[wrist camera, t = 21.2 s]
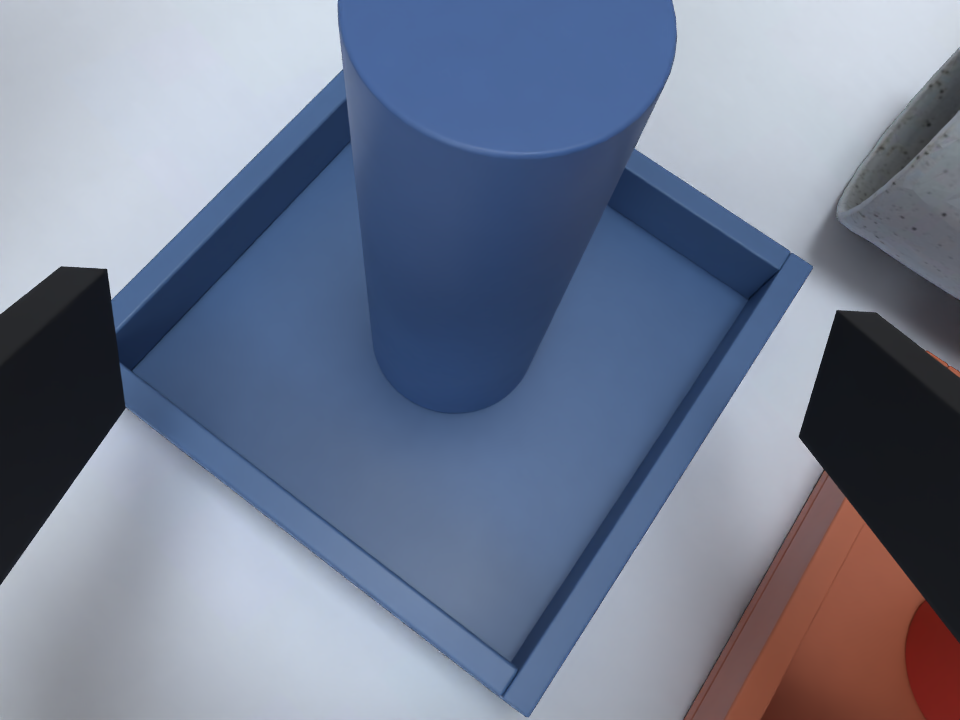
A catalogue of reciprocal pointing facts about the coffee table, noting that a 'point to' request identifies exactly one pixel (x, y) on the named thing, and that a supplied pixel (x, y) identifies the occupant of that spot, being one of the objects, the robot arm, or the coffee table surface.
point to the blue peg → (487, 170)
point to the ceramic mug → (915, 184)
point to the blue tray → (448, 436)
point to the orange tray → (820, 627)
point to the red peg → (933, 666)
